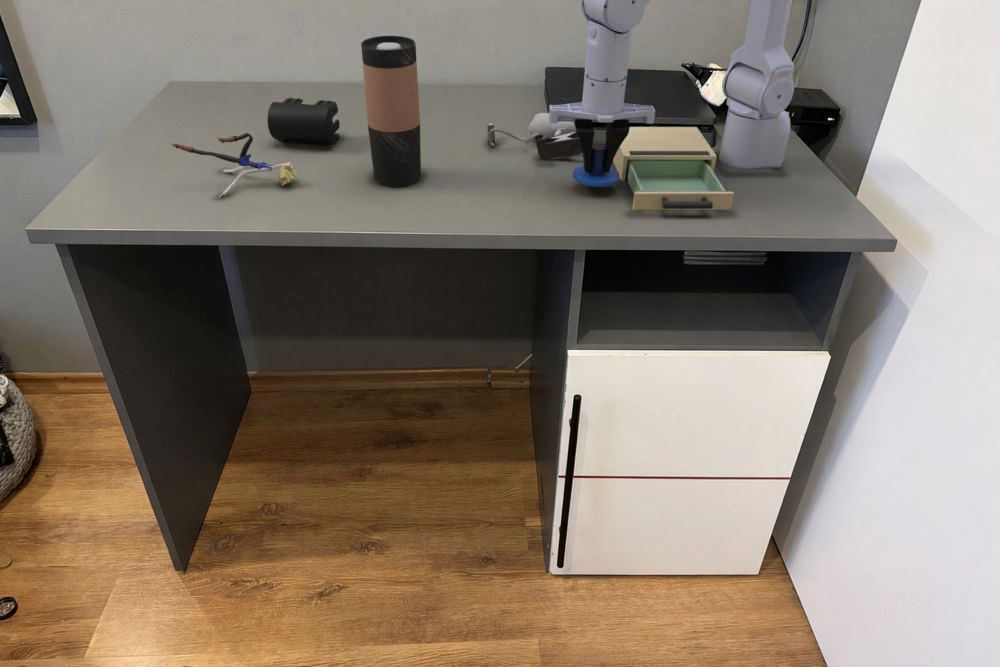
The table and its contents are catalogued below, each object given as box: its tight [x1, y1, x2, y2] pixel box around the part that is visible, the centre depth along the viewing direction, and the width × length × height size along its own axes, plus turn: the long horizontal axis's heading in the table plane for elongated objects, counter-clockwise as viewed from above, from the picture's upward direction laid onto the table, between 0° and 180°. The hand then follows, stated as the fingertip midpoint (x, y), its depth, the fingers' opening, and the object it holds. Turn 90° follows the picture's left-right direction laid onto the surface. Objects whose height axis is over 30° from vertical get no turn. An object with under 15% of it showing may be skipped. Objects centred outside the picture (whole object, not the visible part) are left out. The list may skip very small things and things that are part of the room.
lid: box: [572, 143, 620, 188], centre depth 109 cm, size 7×7×5 cm
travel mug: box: [360, 35, 422, 188], centre depth 110 cm, size 8×8×20 cm
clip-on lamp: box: [486, 112, 583, 161], centre depth 124 cm, size 12×6×18 cm
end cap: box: [267, 97, 341, 147], centre depth 124 cm, size 10×7×7 cm
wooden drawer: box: [625, 160, 735, 211], centre depth 109 cm, size 14×14×3 cm
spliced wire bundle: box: [170, 132, 299, 199], centre depth 110 cm, size 10×9×20 cm
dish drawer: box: [612, 126, 718, 182], centre depth 118 cm, size 14×12×5 cm
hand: (596, 169), depth 110 cm, fingers closed on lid, 2 cm apart
